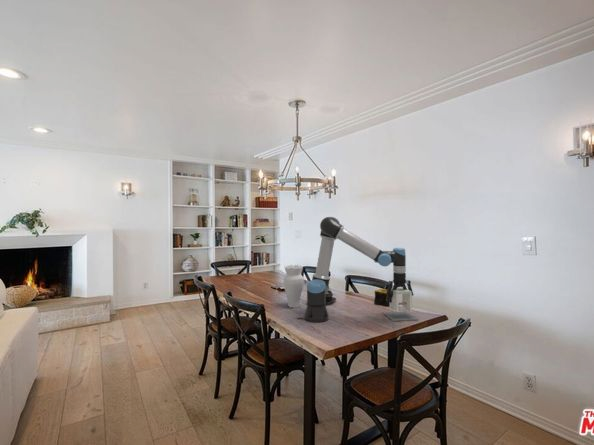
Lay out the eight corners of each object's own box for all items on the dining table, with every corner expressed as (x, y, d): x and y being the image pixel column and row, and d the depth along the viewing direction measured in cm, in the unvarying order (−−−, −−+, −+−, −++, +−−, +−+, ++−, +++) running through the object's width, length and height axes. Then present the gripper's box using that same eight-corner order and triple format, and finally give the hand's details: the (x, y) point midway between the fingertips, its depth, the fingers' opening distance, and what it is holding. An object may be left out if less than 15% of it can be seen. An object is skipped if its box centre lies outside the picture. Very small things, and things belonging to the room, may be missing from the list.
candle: (374, 304, 219) (373, 290, 219) (380, 301, 226) (380, 288, 226) (387, 307, 212) (386, 293, 212) (393, 304, 219) (393, 290, 219)
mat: (393, 321, 181) (393, 320, 181) (382, 313, 197) (382, 312, 197) (418, 320, 183) (418, 319, 183) (405, 312, 199) (405, 311, 199)
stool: (411, 311, 185) (404, 306, 195) (411, 291, 185) (403, 287, 195) (396, 312, 184) (389, 307, 193) (396, 291, 184) (389, 288, 193)
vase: (279, 306, 216) (279, 266, 216) (294, 302, 226) (294, 263, 226) (292, 310, 205) (292, 268, 205) (308, 306, 215) (307, 266, 215)
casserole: (319, 308, 209) (319, 296, 209) (301, 303, 223) (301, 292, 223) (342, 302, 226) (342, 291, 226) (324, 297, 240) (324, 287, 240)
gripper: (385, 273, 185) (385, 309, 185) (419, 272, 188) (419, 307, 188) (380, 271, 192) (380, 306, 192) (413, 270, 195) (413, 304, 195)
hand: (399, 307), depth 190 cm, fingers closed on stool, 10 cm apart
